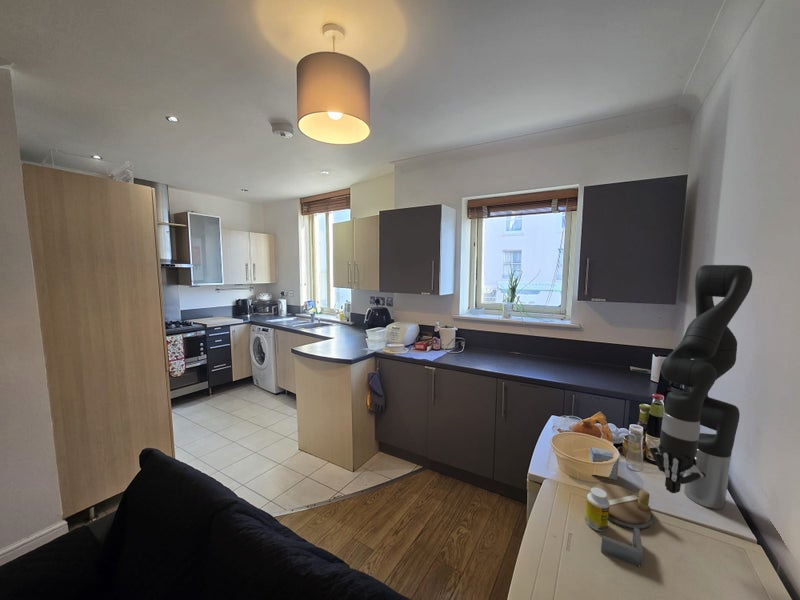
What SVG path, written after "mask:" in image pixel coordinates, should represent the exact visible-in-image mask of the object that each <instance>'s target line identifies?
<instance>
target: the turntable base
mask: <svg viewBox="0 0 800 600" xmlns="http://www.w3.org/2000/svg"><path fill="white" fill-rule="evenodd" d="M589 493H591V491H590V492H589ZM653 519H654V516H653V513H652V512H651V519H650V521H649V522H648V523H646V524H642V525H634V524H629V523H625V522H622V521H619V520H617V519H615V518H613V517H611V516H608V522H610V523H612V524H614V525H616V526H619V527H621V528H623V529H628V530H632V531H633V530H634V528H637V529H639V531H645V530H648V529H649V528H651V527H652V526H653V522H654V521H653Z"/></svg>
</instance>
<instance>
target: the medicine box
mask: <svg viewBox="0 0 800 600" xmlns="http://www.w3.org/2000/svg"><path fill="white" fill-rule="evenodd" d="M589 450H590V451H589V460H588V462H589V461H593V462H603V461H608V460H610V459H612V458H613V454H614V452H613V451H614V450H611V449H605V448H600V447H593V446H590V449H589ZM619 461H620V458H619V457H618V459H617V461H616V462H615V464H614V465H613V468H612V471H611V474H610V476H609V480H613V481H614V480H615V481H617V480H618V473H619V472H618V469H619Z"/></svg>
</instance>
